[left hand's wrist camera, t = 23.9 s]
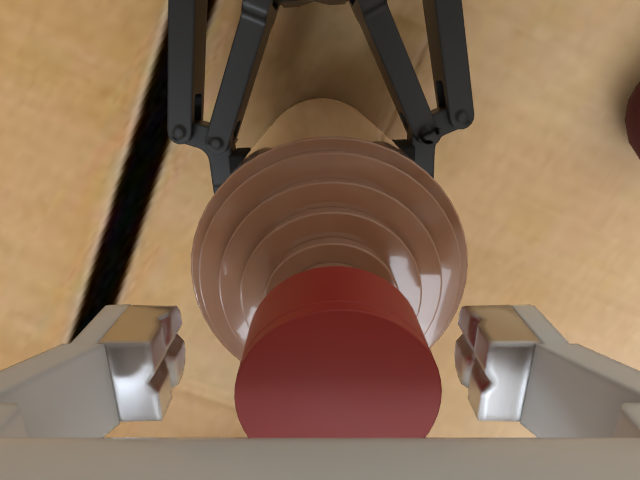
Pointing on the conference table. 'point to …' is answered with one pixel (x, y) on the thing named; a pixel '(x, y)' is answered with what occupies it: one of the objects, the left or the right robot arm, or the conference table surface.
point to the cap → (336, 361)
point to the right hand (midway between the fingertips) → (327, 258)
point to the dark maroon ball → (634, 120)
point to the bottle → (326, 221)
